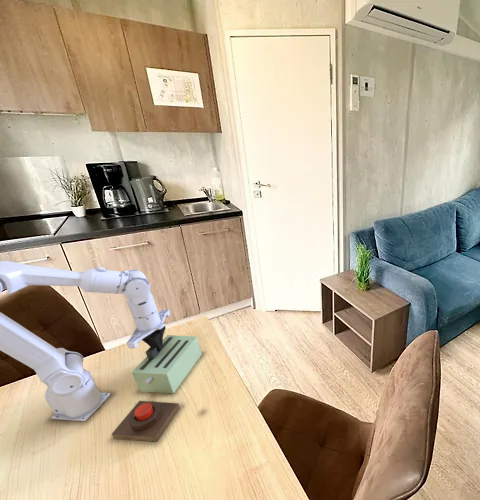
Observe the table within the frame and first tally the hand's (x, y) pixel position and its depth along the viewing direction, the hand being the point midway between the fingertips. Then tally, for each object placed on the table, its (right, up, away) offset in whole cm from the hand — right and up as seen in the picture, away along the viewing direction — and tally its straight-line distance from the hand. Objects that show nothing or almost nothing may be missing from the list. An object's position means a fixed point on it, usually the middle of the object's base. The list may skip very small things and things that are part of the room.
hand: (158, 349), depth 84 cm
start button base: (+6, -14, -12) cm, 20 cm away
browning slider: (0, -1, -2) cm, 2 cm away
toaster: (+3, -8, +3) cm, 9 cm away
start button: (+6, -12, -13) cm, 19 cm away
